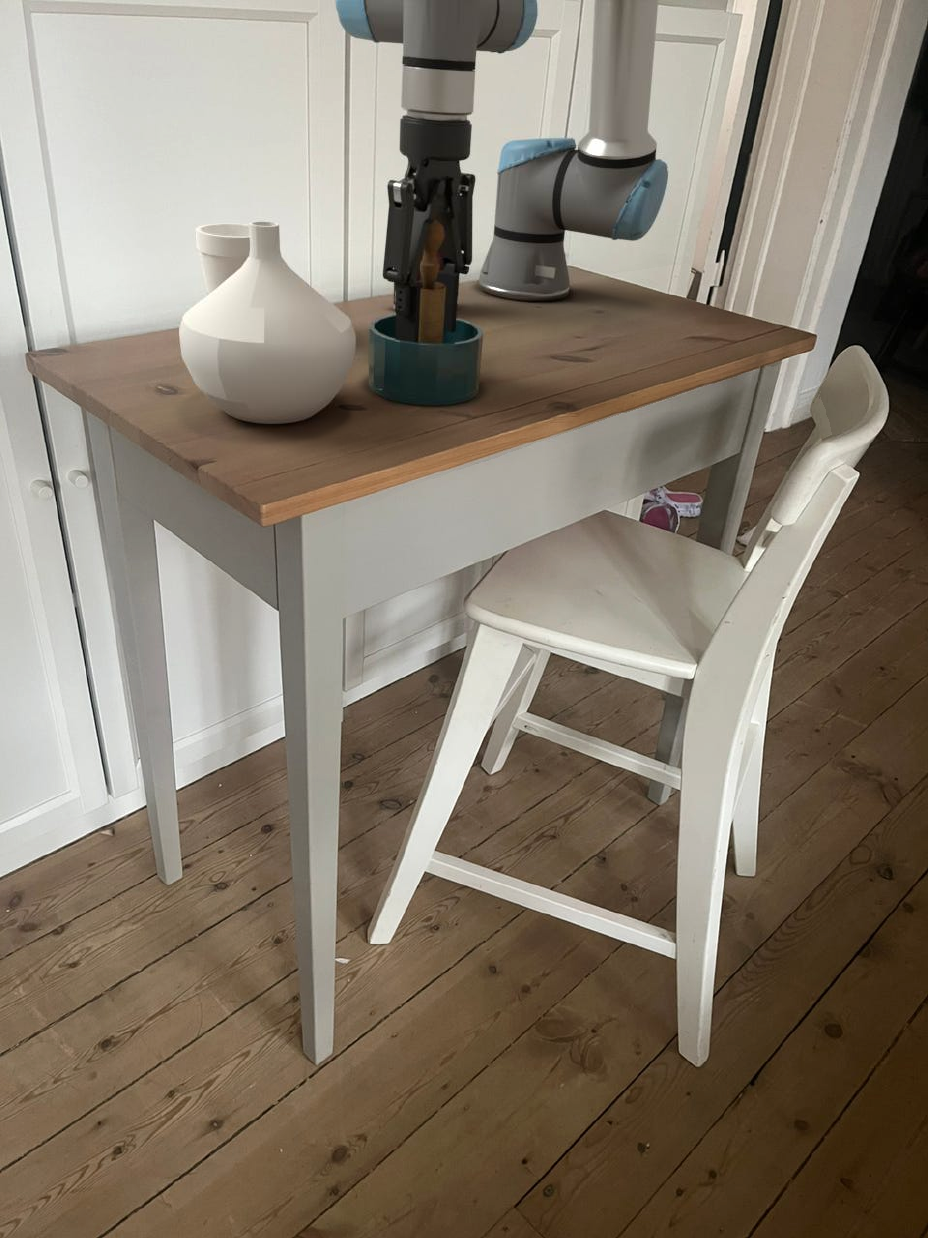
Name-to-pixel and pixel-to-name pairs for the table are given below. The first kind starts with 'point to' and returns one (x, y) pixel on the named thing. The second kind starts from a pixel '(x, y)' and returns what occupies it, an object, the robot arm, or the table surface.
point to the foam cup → (222, 251)
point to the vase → (267, 340)
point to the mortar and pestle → (431, 289)
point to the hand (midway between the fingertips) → (426, 335)
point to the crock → (425, 365)
